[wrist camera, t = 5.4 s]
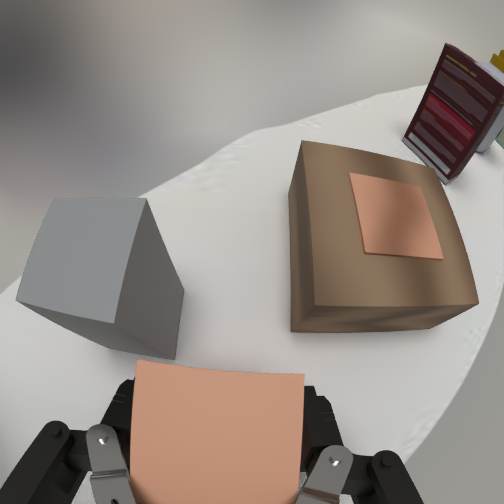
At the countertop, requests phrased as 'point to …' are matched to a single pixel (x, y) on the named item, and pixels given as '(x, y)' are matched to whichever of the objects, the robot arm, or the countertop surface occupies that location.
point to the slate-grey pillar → (105, 275)
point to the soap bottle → (500, 68)
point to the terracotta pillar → (215, 436)
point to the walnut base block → (372, 244)
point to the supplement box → (454, 113)
